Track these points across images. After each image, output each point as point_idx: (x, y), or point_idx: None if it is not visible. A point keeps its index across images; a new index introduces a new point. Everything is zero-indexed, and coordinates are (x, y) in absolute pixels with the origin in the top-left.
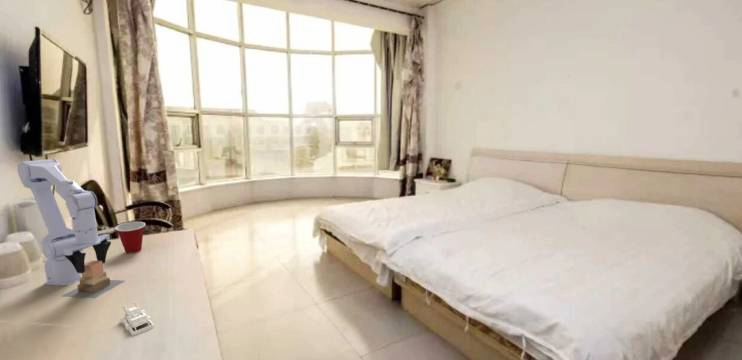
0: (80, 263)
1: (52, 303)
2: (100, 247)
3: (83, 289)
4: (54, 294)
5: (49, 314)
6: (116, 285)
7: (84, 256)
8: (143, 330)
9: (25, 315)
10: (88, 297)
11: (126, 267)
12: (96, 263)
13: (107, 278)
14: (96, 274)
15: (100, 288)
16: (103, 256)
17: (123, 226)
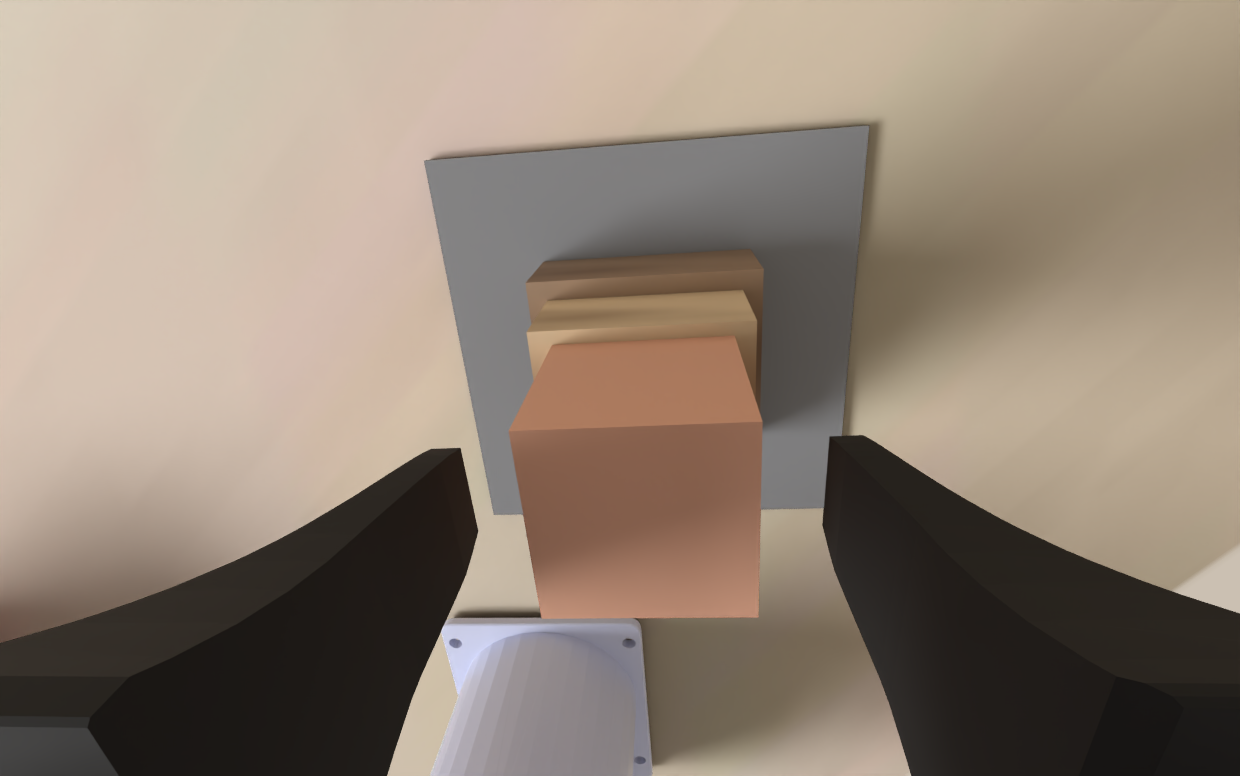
0: (1028, 535)
1: (953, 469)
2: (289, 744)
3: None
4: (789, 589)
5: (1189, 300)
6: (551, 156)
7: (1046, 618)
8: None
9: (1164, 490)
10: (860, 215)
11: (191, 455)
12: (638, 428)
13: (554, 281)
14: (674, 343)
15: (672, 257)
16: (399, 514)
17: None
